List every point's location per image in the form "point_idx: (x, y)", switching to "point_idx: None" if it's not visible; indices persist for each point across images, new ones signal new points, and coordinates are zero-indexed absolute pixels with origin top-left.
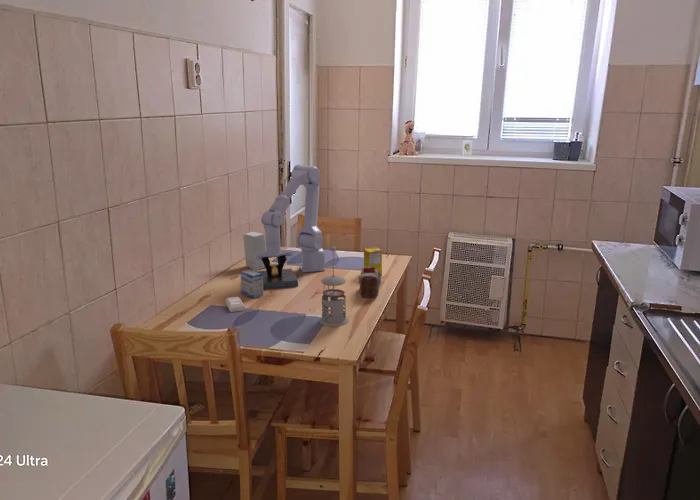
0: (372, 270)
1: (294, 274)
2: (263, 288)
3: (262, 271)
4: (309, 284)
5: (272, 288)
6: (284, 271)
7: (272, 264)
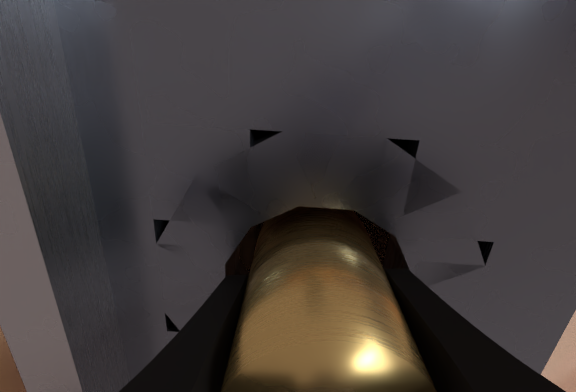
0: None
1: (568, 318)
2: None
3: (169, 11)
4: (568, 389)
5: None
6: (525, 146)
7: (320, 365)
